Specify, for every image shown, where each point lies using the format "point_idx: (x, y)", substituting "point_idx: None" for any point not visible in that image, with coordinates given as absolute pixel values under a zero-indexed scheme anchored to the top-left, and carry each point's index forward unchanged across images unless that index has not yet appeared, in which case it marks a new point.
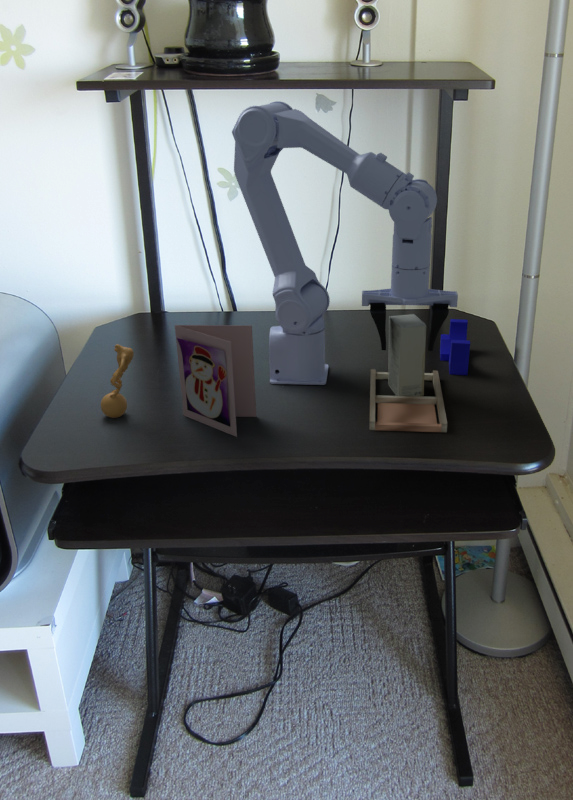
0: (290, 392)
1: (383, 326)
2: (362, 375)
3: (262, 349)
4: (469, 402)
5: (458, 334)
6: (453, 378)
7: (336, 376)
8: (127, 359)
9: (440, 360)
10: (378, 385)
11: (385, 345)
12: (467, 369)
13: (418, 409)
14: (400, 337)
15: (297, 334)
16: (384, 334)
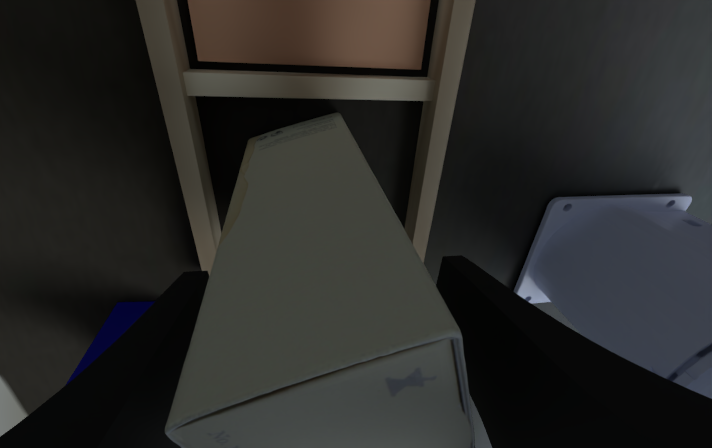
0: (654, 149)
1: (573, 362)
2: (432, 268)
3: None
4: (50, 98)
5: None
6: (160, 280)
7: (501, 256)
8: None
9: None
10: (396, 214)
11: (460, 269)
12: (109, 318)
13: (262, 3)
14: (422, 262)
15: None
16: (512, 315)
